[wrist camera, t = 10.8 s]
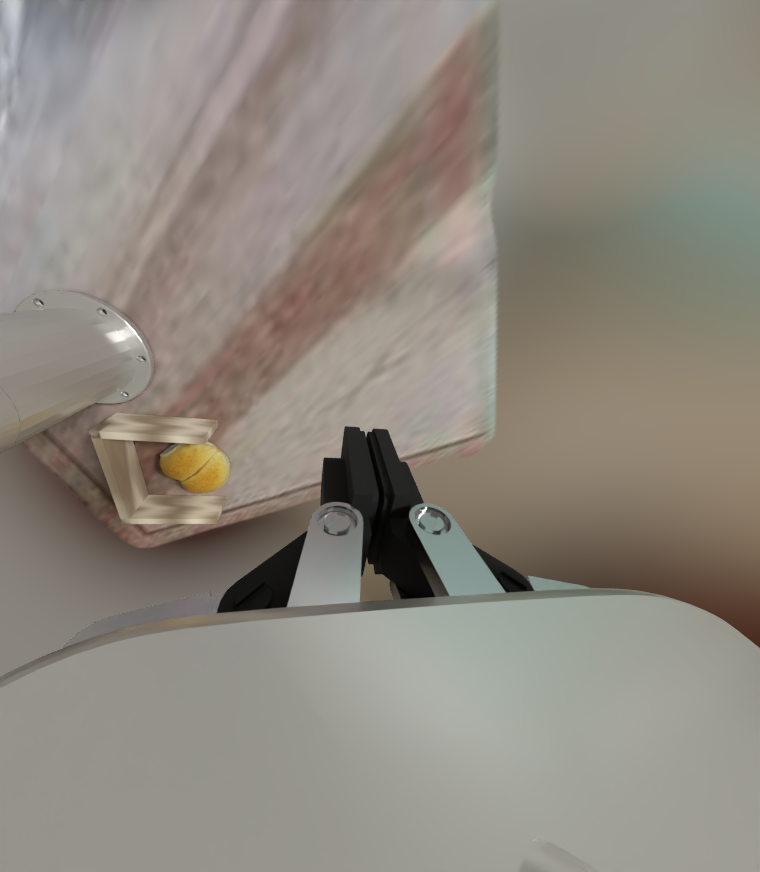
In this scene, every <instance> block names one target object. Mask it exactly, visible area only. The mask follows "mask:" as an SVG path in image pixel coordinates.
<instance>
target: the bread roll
mask: <svg viewBox="0 0 760 872" xmlns="http://www.w3.org/2000/svg"><path fill="white" fill-rule="evenodd" d="M160 457H161V458H160V467H161V470H162V471H163V473H164V474H165V475H166V476H168V477H171V478H173V479H176V480H180V483H181V485H182V486H183V488H185V489H186V490H188V491H190V492H193V493H208V492H212V491H215V490H217V489H219V488H220V487H222V486H223V485H224V484H225V482H226V481H227V479H228V477H229V473H230V461H229V459H228V457H227V456H226V455H225V453H224V452H223V451H221V450H219V449H218V448H217V447H216V446H215V445H214V444H212V443H211V442H209V441H207V442H206V444H205V445H204V444H187V443H174V444H172V445H171V446H170V447H169V448H167V449H166V450H165V451H164V452H162V453H161V454H160Z"/></svg>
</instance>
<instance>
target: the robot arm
mask: <svg viewBox="0 0 760 872" xmlns="http://www.w3.org/2000/svg"><path fill="white" fill-rule="evenodd" d="M105 310H106V311H105ZM106 312H107V313H106ZM144 357H145V358H144ZM153 375H154V360H153V355H152V352H151V349H150V347H149V345H148V343H147V341H146V339H145V338H144V336H143V334H142V333H141V332H140V331H139V329H138V328H137V327H136V326H135V325H134V324H133V323H132V322H131V321H130V320H129V319H128V318H127V317H126V316H125V315H124V314H122V313H121V312H119V311H118V310H117V309H115V308H114V307H112V306H111V305H109V304H107V303H105V302H103V301H101V300H99V299H97V298H94V297H92V296H89V295H87V294H82V293H78V292H74V291H63V290H56V291H44V292H40V293H36V294H33V295H31V296H29V297H27V298H26V299H24V300H23V301H22V302H21V303H20V304H19V305H18V306H17V308H16V310H15V312H12V313H3V314H0V454H1V453H3V452H5V451H6V450H8V449H10V448H12V447H14V446H16V445H18V444H20V443H22V442H24V441H25V440H27V439H29V438H31V437H33V436H35V435H36V434H38V433H40V432H42V431H44V430H46V429H48V428H49V427H51V426H53V425H55V424H57V423H59V422H60V421H62V420H64V419H66V418H68V417H70V416H72V415H73V414H75V413H77V412H79V411H81V410H83V409H84V408H86V407H88V406H90V405H92V404H94V403H101V404H115V403H121V402H125V401H128V400H131V399H133V398H135V397H136V396H138V395H140V394H141V393H142V392H143V391H145V390H146V389H147V387H148V386H149V384H150V383H151V381H152V378H153ZM366 558H367V559H368V563H369V564H373V565H374V571H375V574H383V575H384V576H386V577H387V578H388V579H389V580H390V582H389V586H390V591H391V594H392V597H393V599H394V600H384V601H369V602H360V582H361V576H362V575H363V571H364V567H365V562H366ZM0 872H760V648H759V647H757V646H756V645H755V644H754V643H752V642H751V641H750V640H749V639H747V638H746V637H745V636H744V635H742V634H741V633H740V632H739V631H737V630H736V629H735V628H733V627H732V626H731V625H729V624H728V623H726V622H725V621H723V620H722V619H720V618H718V617H717V616H715V615H713V614H711V613H709V612H707V611H704V610H702V609H700V608H698V607H695V606H693V605H690V604H688V603H685V602H681V601H678V600H675V599H672V598H669V597H665V596H662V595H657V594H652V593H647V592H642V591H635V590H625V589H603V588H593V589H592V588H589V587H586V586H581V585H576V584H570V583H565V582H560V581H554V580H549V579H543V578H538V577H533V576H527V577H526V579H525V578H524V576H523V575H521V574H520V573H518V572H517V571H516V570H514V569H512V568H511V567H509V566H507V565H506V564H504V563H502V562H501V561H499V560H497V559H496V558H494V557H492V556H491V555H489V554H487V553H486V552H484V551H482V550H481V549H479V548H477V547H476V546H474V545H472V544H471V543H470V541H469V540H468V538H467V537H466V535H465V534H464V533H463V531H462V530H461V528H460V527H459V526H458V524H457V523H456V521H455V520H454V518H453V517H452V516H451V515H450V514H449V513H448V512H447V511H445V510H444V509H443V508H441V507H438V506H436V505H433V504H425V503H424V502H423V500H422V497H421V495H420V493H419V491H418V488H417V486H416V483H415V481H414V479H413V476H412V474H411V472H410V469H409V467H408V465H407V463H406V462H400V461H399V458H398V455H397V453H396V450H395V448H394V445H393V443H392V440H391V438H390V435H389V433H388V430H386V429H373V430H372V432H368V433H367V437H366V436H365V432H364V431H360V428H359V427H347V426H345V429H344V437H343V445H342V452H341V458H324V461H323V471H322V483H321V506H320V507H318V508H317V509H316V510H315V511H314V513H313V515H312V517H311V521H310V524H309V528H308V531H306V532H305V533H304V534H302V535H301V536H299V537H298V538H297V539H295V540H294V541H292V542H291V543H290V544H288V545H287V546H286V547H284V548H283V549H281V550H280V551H279V552H277V553H276V554H274V555H273V556H272V557H271V558H269V559H268V560H266V561H265V562H264V563H262V564H261V565H259V566H258V567H257V568H255V569H254V570H252V571H251V572H250V573H248V574H247V575H245V576H244V577H243V578H241V579H240V580H238V581H237V582H236V583H235V584H234V585H233V586H231V587H230V588H229V589H228V590H227V591H226V592H225V593H221V594H217V595H213V596H212V595H211V592H207V593H202V594H198V595H194V596H191V597H186V598H183V599H178V600H174V601H170V602H166V603H162V604H158V605H154V606H150V607H146V608H142V609H138V610H134V611H130V612H126V613H122V614H118V615H114V616H110V617H107V618H105V619H102V620H99V621H97V622H94V623H93V624H91V625H90V626H88V627H86V628H85V629H83V630H82V631H80V632H78V633H77V634H76V635H75V636H74V637H73V638H72V639H71V640H70V641H69V642H68V643H67V644H66V645H64V647H63V648H62V649H60V650H57V651H55V652H52V653H50V654H47V655H45V656H42V657H40V658H38V659H36V660H34V661H31V662H29V663H27V664H25V665H23V666H21V667H18V668H16V669H14V670H13V671H10V672H8V673H6V674H5V675H3V676H1V677H0Z"/></svg>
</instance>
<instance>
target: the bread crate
mask: <svg viewBox="0 0 760 872" xmlns="http://www.w3.org/2000/svg"><path fill="white" fill-rule="evenodd" d="M217 427H218V422H217V420H208V419H195V418H181V417H168V416H154V415H141V414H127V413H115V414H114V415H112V416H111V417H109V418H108V419H106V420H104V421H103V422H101V423H100V424H98V425H97V426H95V427H94V428H92V429H90V430H89V433H90V436H91V439H92V442H93V444H94V447H95V450H96V453H97V455H98V458H99V461H100V464H101V466H102V469H103V472H104V475H105V477H106V480H107V483H108V486H109V488H110V491H111V494H112V497H113V499H114V502H115V505H116V508H117V510H118V513H119V516H120V519H121V521H122V524H216V523H217V521H218V519H219V517H220V514H221V512H222V510H223V508H224V506H225V503H226V501H227V500H226V496H183V495H149V494H148V491H147V487H146V484H145V480H144V477H143V473H142V470H141V466H140V463H139V459H138V456H137V452H136V449H135V445H134V442H133V441H151V442H169V443H187V444H204V445H205V444H206V442H207V441H208V439H209V438H210V437H211V435H212V434H213V433H214V431H215V430H216V429H217Z"/></svg>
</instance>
